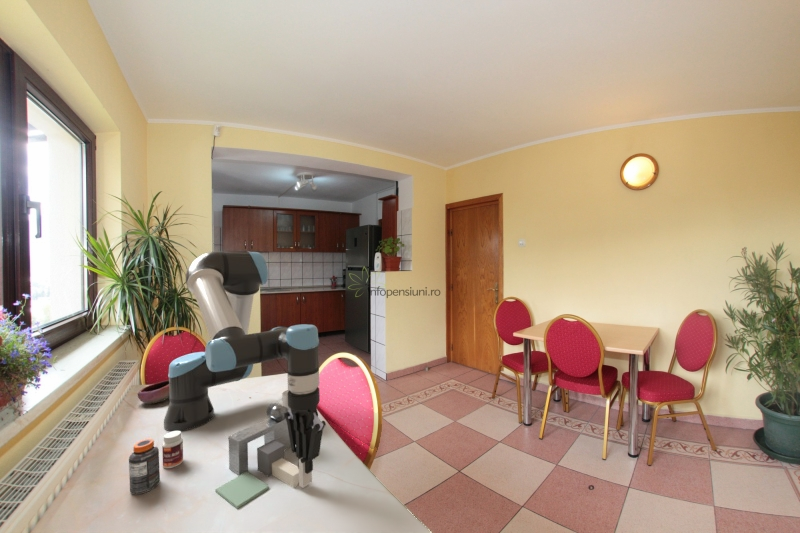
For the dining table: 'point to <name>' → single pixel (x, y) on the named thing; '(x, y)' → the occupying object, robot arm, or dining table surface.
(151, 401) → the bowl
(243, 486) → the mat
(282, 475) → the plug
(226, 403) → the dining table surface
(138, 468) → the pill bottle
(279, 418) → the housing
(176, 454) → the pill bottle
